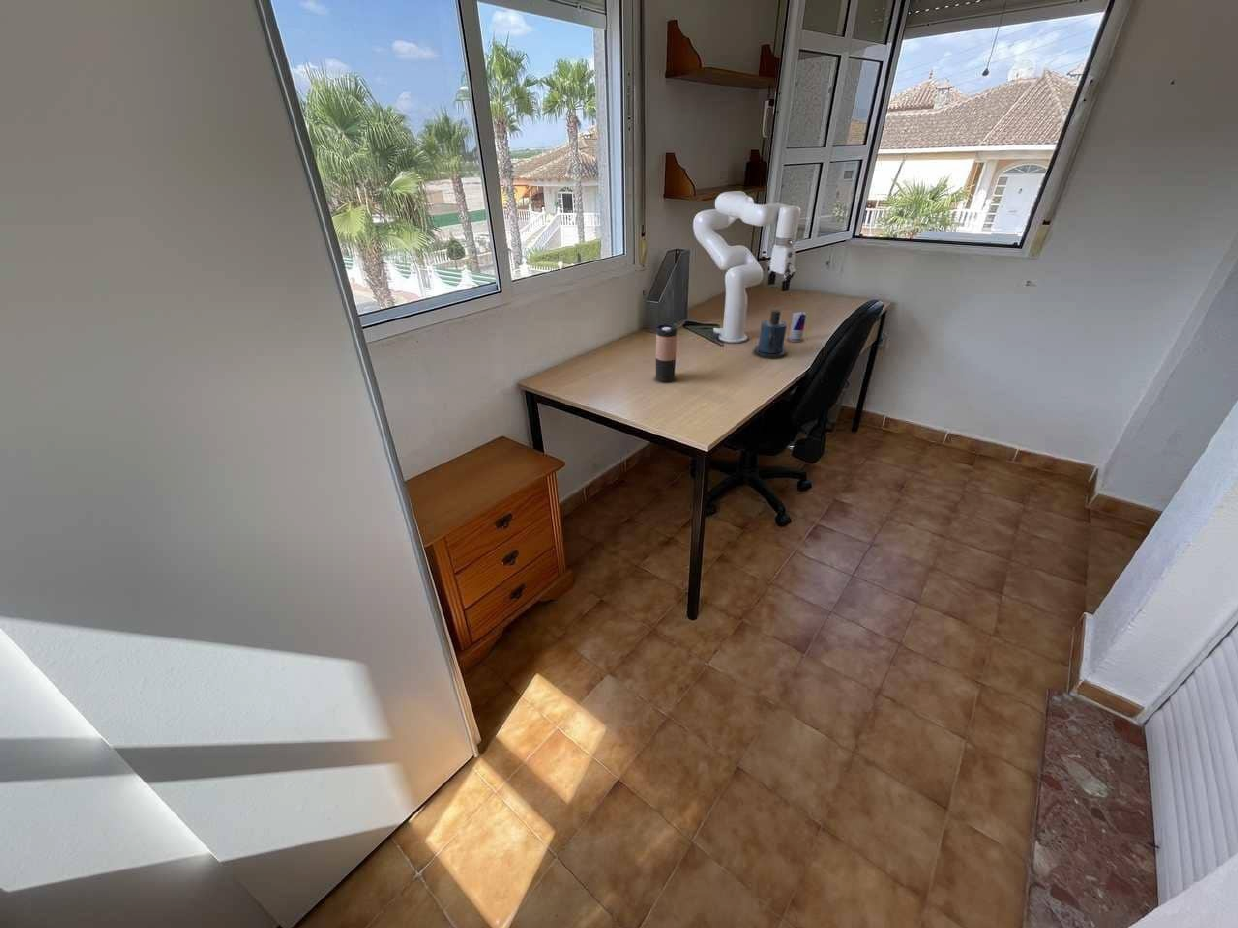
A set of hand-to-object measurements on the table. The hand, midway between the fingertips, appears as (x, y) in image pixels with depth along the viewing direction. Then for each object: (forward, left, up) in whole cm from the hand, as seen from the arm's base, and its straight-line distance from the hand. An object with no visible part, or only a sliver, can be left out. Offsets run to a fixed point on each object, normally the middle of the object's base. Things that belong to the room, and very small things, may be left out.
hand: (777, 287), depth 208 cm
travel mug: (-34, -41, -27) cm, 60 cm away
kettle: (+1, -2, -25) cm, 25 cm away
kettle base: (+1, -1, -27) cm, 27 cm away
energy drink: (+10, +19, -27) cm, 34 cm away
